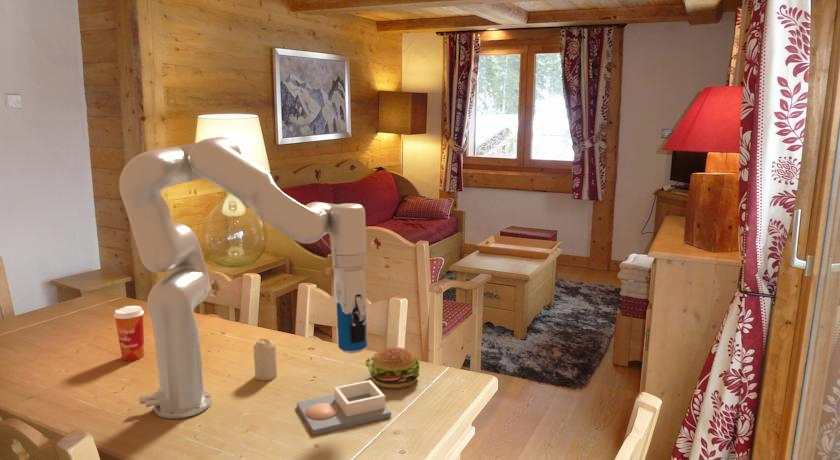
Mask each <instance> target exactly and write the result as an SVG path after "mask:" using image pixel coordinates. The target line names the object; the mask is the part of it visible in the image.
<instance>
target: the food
mask: <svg viewBox="0 0 840 460" xmlns="http://www.w3.org/2000/svg"><path fill="white" fill-rule="evenodd" d="M415 356H416V355H415V354H414V353H413V352H412V351H410V350H409V349H407V348H403V347H398V346H393V347H385V348H383V349H380V350H378V351H377V352H376V353H375V354H373V356H371V357H370V358H371V359H370V358H369V357H367V359H366V360H365V367H367V368H368V372H369V375H370V377H371V381H372V382H373V383H374V384H375V385H376V386H377V387H382V388H386V389H400V388H405V387H409V386H411V385H413V384H414V383H416V380H417V378H418V377H419V376H420V362H419V361H418V360H419V359H418V358H416V357H415Z"/></svg>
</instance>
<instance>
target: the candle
mask: <svg viewBox="0 0 840 460" xmlns="http://www.w3.org/2000/svg"><path fill="white" fill-rule="evenodd" d="M276 349H277V347H276V343H275V342H274V341H272V340H270V339H266V338H259V340H257V341H256V342H255V343H254V345H253V360H254V361H253V363H254V376H255V377H254V378H255V379H256V380H258V381H262V382H263V381H264V382H265V381H271V380H273V379H275V378H276V377H277V375H278V371H277V369H278V367H277V351H276Z"/></svg>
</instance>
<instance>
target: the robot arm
mask: <svg viewBox="0 0 840 460" xmlns="http://www.w3.org/2000/svg"><path fill="white" fill-rule="evenodd" d="M204 179H205V180H206V181H208V182H209V183H212V184H213V185H215V186H216V187H219V188H220V189H222V190H223V191H225V192H227V193H228V194H230V195H232V196H233V197H235V198H236V199H238V200H240V201H242V202H243V203H245V204H246V205H247V206H248V207H249V208H250V209H251V211H253V212H254V213H255V214H256V215H257V216H258V217H259V218H260V219H262V221H263V222H265V223H266V224H267V225H269V226H270V227H271V228H273V229H275V230H276V231H278V232H280V233H281V234H283V235H284V236H286V237H288V238H290V239H292V240H294V241H296V242H298V243H301V244H312V243H313V244H314V243H316V242H317V241H319V240H320V239H321V238H322V237H324V236H325V235H328V234H330V235H331V257H332V258H331V259H332V268H333V303H334V305H335V306H336V307H337V303H338V302H339V303H340V305H341V308H342V312H344V313H345V314H349V313H350V318H351V324H352V325H350V339H351V343H357V342H363V341H365V316H366V317H367V307H368V304H367V303H368V301H367V300H368V299H367V287H366V286H367V284H366V274H365V268H367V266H368V265H367V264H368V263H367V262H368V259H367V233H366V232H367V230H366V229H367V228H366V226H367V225H366V209H365V207H364V206H363V205H362V204H360V203H352V202H351V203H350V202H349V203H339V204H337V203H329V202H328V203H327V202H321V201H313V202H309V203H307V204H306V205H304V204H301V202H298V201H297V200H296V199H294V198H292V197H290V196H289V195H287V194H286V193H284V192H283V191H282V190H281V189H280V188H279V187H278V186H277V184H276V182H275V181H274V178H273V176H272V175H271V173H270V172H269V170H267V169H266V168H264V167H263V166H260V165H259V164H258V163H256V162H254V161H252V160H251V159H250V158H247V157H246V156H244V155H243V154H242V152H241V149H240V147H239V146H238V144H237V143H235V141H233V140H232V139H230V138H228V137H224V136H219V137H218V136H216V137H209V138H204V139H201V140H200V141H198V142H193V143H187V144H183V145H177V146H171V147H166V148H158V149H157V148H156V149H151V150H147V151H144V152H142V153H139V154H138V155H136V156H134V157H133V158H132V159H130V160H129V161H128V162H127V163H126V164H125V166H124V167H123V168H122V171H121V173H120V176H119V180H118V189H119V193H120V197H121V199H122V202H123V203H122V204H123V205H124V208H125V211H126V215H127V218H128V221H129V223H130V224H129V225H130V229H131V231H132V235H133V237H134V238H133V239H134V242H135V244H136V245H135V246H136V249H137V251H138V254H139V258H140V261H141V263H142V264H143V266H144V267H145V269H147V270H148V271H150V272H151V273H152V272H153V273H156V274H157V273H165V272H167V274H168V275H166V276H165V277H163V278H162V279H159V281H158V282H156V283H155V284H154V285H153V286H152V288H151V289H150V290H149V293H148V295H147V309H148V312H149V317H150V319H151V324H152V328H153V333H154V342H155V343H154V345H155V353H156V362H157V374H158V384H159V385H158V386H159V387H157V391H155V392H153V393H152V394H145V395H139V396H138V401H139V405H145V408H149V407H152V406H153V407H154V409H153V410H154V413H155V414H156V416H158V417H161V418H163V419H172V420H173V419H175V420H176V419H185V418H189V417H192V416H196V415H198V414H200V413H202V412H204V411H205V410H207V409H208V408H209V407H210V406H211V404H212V396H211V394H210V393H209V392H207V391H206V390H204V389H205V388H204V377H203V363H202V353H201V351H202V350H201V338H200V337H201V336H200V331H199V325H198V322H197V319H196V317H195V312H194V311H195V310H194V309H195V308H196V307H197V306H199V304H200V303H203V301H204V300H205V299H206V297H208V295H209V293H210V290H211V282H210V280H211V279H210V276H209V272H208V269H207V265H206V261H205V258H204V254H203V251H202V246H201V244H200V241H199V238H198V237H197V234H195V232H194V231H193V230H192V228H190V227H189V226H187V225H185V224H183V223H178V222H173V219H172V214H171V210H170V208H169V205H168V203H167V202H166V200H165V199H164V197H163V196H162V193H161V192H162V191H163V190H164V189H166V188H171V187H173V186H177V185H180V184H184V183H189V182H193V181H197V180H204ZM339 300H340V301H339ZM354 308H357V311H354V312H353V309H354ZM365 311H366V312H365ZM354 314H358V316H356V318H355V319H354Z"/></svg>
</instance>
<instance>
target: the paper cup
mask: <svg viewBox="0 0 840 460" xmlns="http://www.w3.org/2000/svg"><path fill="white" fill-rule="evenodd" d="M144 313H145V311H144V310H143V308H142V307H141V306H139V305H127V306H122V307H120V308H118V309H116V310H114V314H113V318H114V319H115V325H116V331H117V337H118V342H119V347H120V354H121V358H122V360H123V361H126V362H132V361H133V360H134V361H137V360H141V359H142V358H143V357H144V356H145V337H144V335H145V333H144V330H145V329H144ZM140 358H141V359H140Z"/></svg>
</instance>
